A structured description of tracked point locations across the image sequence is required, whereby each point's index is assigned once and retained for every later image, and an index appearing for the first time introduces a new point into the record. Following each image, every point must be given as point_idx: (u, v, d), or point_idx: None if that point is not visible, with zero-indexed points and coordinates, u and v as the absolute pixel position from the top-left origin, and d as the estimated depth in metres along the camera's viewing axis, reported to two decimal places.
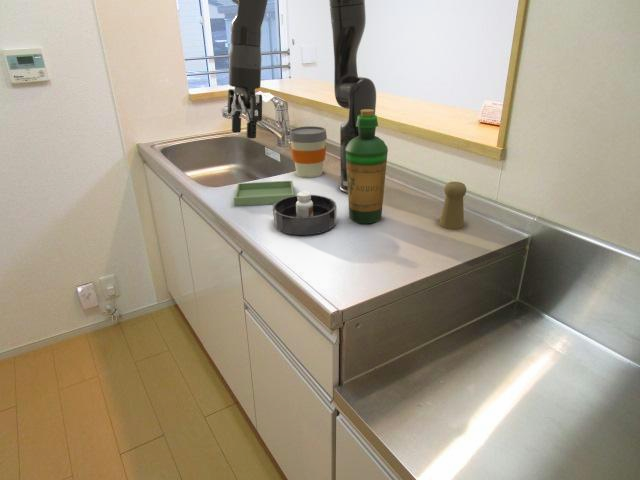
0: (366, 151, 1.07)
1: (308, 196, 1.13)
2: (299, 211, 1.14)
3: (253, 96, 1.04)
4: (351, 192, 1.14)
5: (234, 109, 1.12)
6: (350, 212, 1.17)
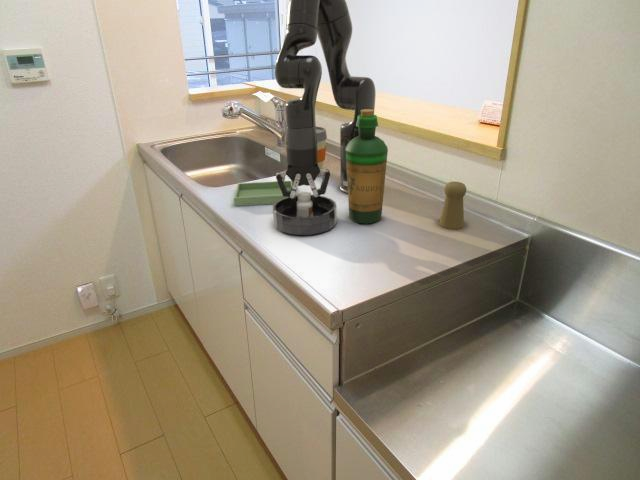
0: (366, 151, 1.07)
1: (308, 196, 1.13)
2: (299, 211, 1.14)
3: (329, 174, 1.11)
4: (351, 192, 1.14)
5: (296, 188, 1.12)
6: (350, 212, 1.17)
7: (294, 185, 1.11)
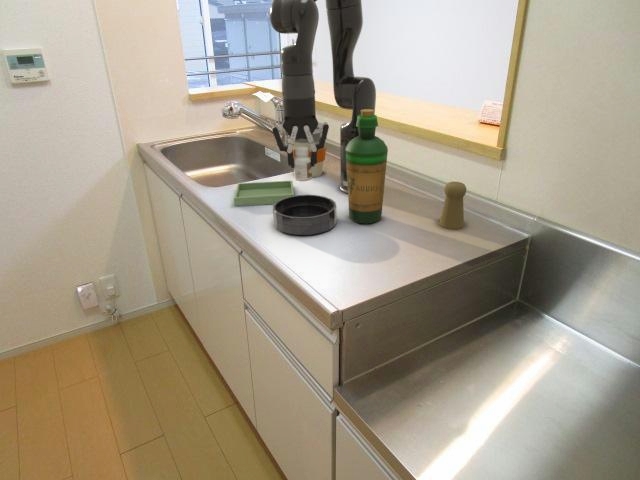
0: (366, 151, 1.07)
1: (306, 151, 1.09)
2: (297, 166, 1.10)
3: (328, 126, 1.07)
4: (351, 192, 1.14)
5: None
6: (350, 212, 1.17)
7: (291, 138, 1.07)
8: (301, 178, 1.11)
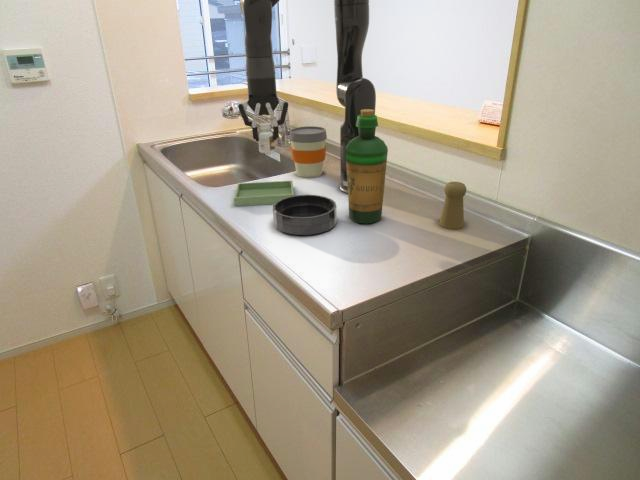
0: (366, 151, 1.07)
1: (268, 125, 1.23)
2: (260, 140, 1.24)
3: (287, 104, 1.21)
4: (351, 192, 1.14)
5: (257, 118, 1.22)
6: (350, 212, 1.17)
7: (255, 114, 1.21)
8: (265, 150, 1.25)
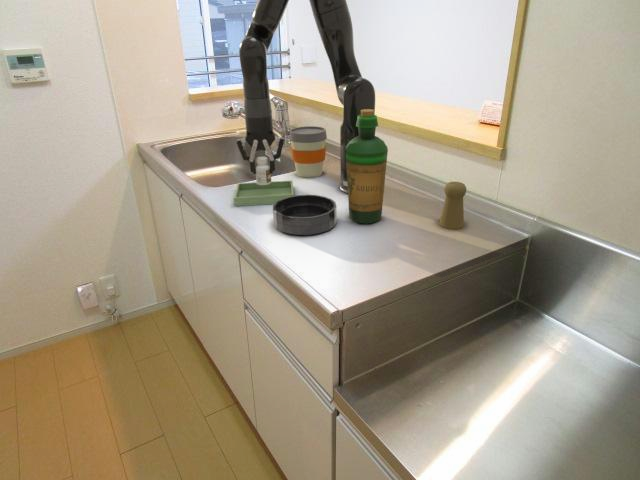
0: (366, 151, 1.07)
1: (265, 160, 1.30)
2: (257, 173, 1.32)
3: (283, 140, 1.29)
4: (351, 192, 1.14)
5: None
6: (350, 212, 1.17)
7: (252, 150, 1.28)
8: (261, 183, 1.32)
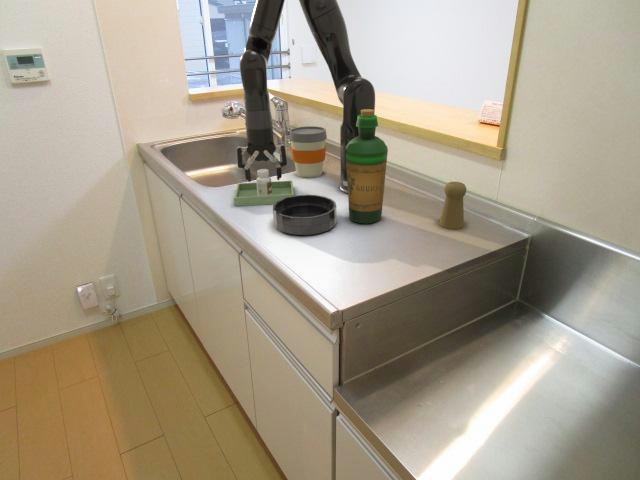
0: (366, 151, 1.07)
1: (266, 172, 1.32)
2: (259, 185, 1.33)
3: (284, 146, 1.30)
4: (351, 192, 1.14)
5: (252, 162, 1.31)
6: (350, 212, 1.17)
7: (251, 159, 1.30)
8: (263, 195, 1.34)
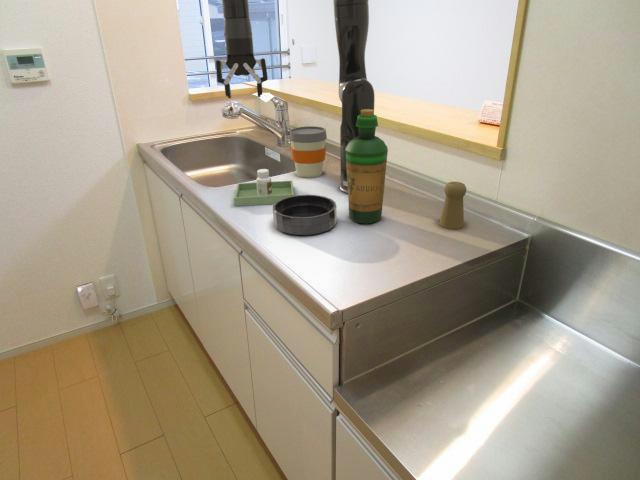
0: (366, 151, 1.07)
1: (266, 172, 1.32)
2: (259, 185, 1.33)
3: (264, 60, 1.27)
4: (351, 192, 1.14)
5: (231, 77, 1.27)
6: (350, 212, 1.17)
7: (230, 72, 1.27)
8: (263, 195, 1.34)
